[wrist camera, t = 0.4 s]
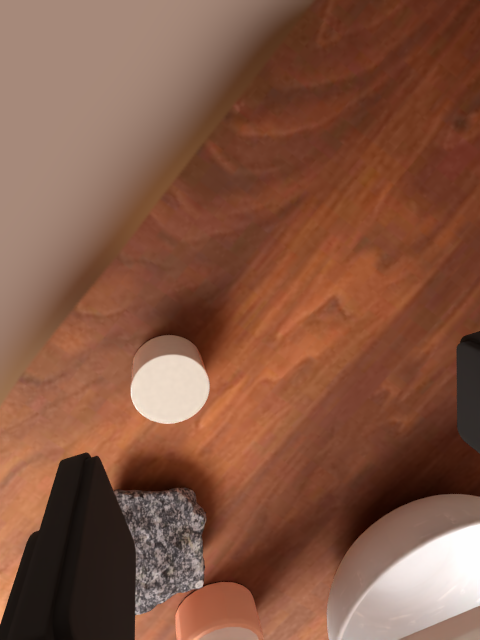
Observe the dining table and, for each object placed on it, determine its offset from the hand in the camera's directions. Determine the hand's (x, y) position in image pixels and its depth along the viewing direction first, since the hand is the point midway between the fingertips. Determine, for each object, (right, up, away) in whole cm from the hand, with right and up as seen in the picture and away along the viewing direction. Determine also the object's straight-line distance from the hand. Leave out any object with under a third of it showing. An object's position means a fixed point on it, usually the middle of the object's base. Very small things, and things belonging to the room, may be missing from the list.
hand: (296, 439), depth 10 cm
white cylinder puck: (-6, 0, +18) cm, 19 cm away
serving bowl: (+15, -20, +30) cm, 39 cm away
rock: (-9, -13, +22) cm, 27 cm away
